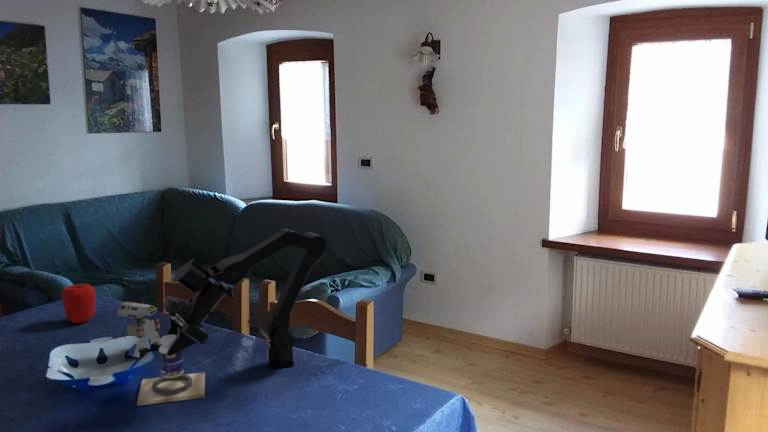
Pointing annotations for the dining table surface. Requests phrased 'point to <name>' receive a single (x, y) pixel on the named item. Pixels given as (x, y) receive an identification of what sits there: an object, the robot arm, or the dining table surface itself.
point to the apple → (78, 302)
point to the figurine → (141, 322)
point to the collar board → (171, 389)
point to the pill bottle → (170, 358)
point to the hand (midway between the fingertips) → (165, 351)
